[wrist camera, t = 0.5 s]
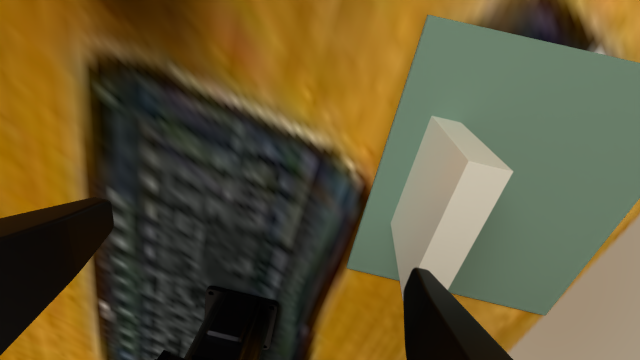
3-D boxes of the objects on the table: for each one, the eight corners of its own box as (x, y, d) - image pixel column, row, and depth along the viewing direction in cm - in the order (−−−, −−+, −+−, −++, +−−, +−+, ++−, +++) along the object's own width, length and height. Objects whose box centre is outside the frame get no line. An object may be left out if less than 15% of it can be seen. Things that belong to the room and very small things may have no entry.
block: (417, 229, 22) (441, 309, 16) (390, 223, 22) (403, 300, 16) (464, 123, 18) (518, 172, 12) (431, 115, 18) (468, 160, 12)
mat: (542, 311, 24) (545, 315, 24) (347, 264, 25) (346, 268, 24) (723, 82, 16) (731, 83, 16) (427, 15, 16) (429, 14, 16)
